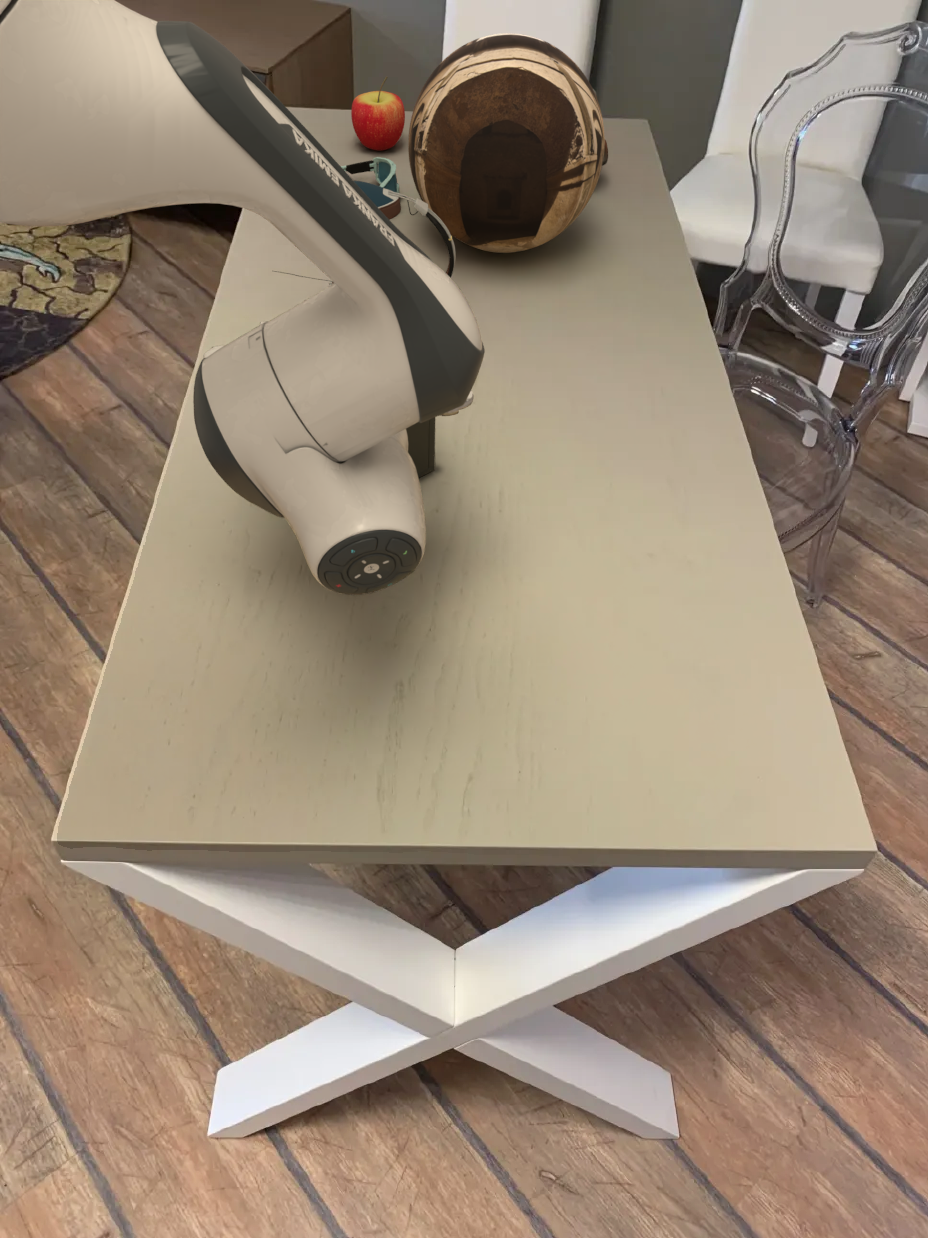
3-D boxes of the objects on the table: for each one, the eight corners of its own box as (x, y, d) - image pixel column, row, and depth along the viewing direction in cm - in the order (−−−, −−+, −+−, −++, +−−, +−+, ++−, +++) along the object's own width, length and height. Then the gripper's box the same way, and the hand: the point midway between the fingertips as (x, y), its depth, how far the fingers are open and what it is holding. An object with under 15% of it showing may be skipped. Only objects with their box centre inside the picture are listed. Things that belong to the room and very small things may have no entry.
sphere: (399, 281, 122) (396, 68, 103) (418, 196, 139) (418, -1, 120) (592, 294, 121) (624, 83, 103) (587, 207, 138) (614, 11, 120)
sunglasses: (398, 225, 132) (393, 189, 128) (294, 235, 133) (286, 199, 129) (403, 181, 141) (398, 147, 138) (306, 190, 142) (298, 156, 139)
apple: (416, 150, 149) (416, 81, 142) (370, 162, 146) (368, 92, 138) (387, 132, 154) (385, 65, 146) (342, 143, 150) (338, 74, 143)
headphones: (266, 307, 114) (446, 331, 116) (264, 181, 103) (463, 210, 105) (274, 282, 119) (448, 305, 120) (273, 158, 107) (464, 187, 109)
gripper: (480, 375, 70) (446, 282, 79) (200, 397, 67) (198, 298, 76) (476, 443, 75) (445, 348, 84) (214, 467, 72) (211, 365, 81)
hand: (325, 324), depth 80 cm, fingers open, 8 cm apart
